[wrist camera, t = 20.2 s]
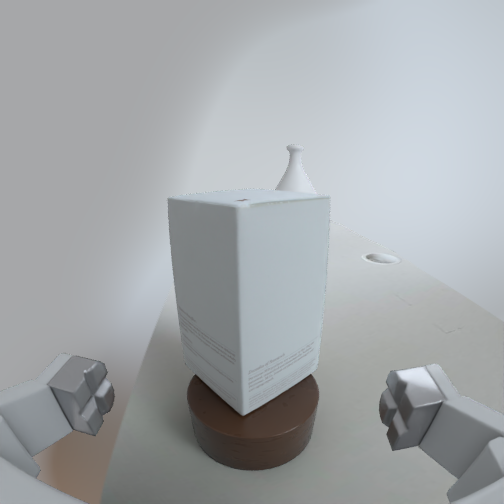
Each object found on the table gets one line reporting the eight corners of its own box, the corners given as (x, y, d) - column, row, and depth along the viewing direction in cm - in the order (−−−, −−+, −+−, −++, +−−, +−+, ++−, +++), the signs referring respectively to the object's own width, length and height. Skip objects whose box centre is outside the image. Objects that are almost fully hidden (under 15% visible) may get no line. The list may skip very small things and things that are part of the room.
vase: (270, 219, 101) (270, 146, 94) (320, 221, 99) (322, 147, 91) (263, 230, 85) (262, 142, 78) (324, 232, 82) (326, 143, 75)
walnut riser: (334, 443, 17) (345, 408, 16) (213, 485, 14) (206, 455, 13) (280, 377, 25) (282, 342, 24) (183, 400, 22) (176, 364, 21)
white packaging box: (320, 370, 20) (336, 194, 17) (241, 420, 16) (234, 203, 12) (255, 332, 26) (255, 186, 22) (182, 363, 21) (163, 194, 18)
